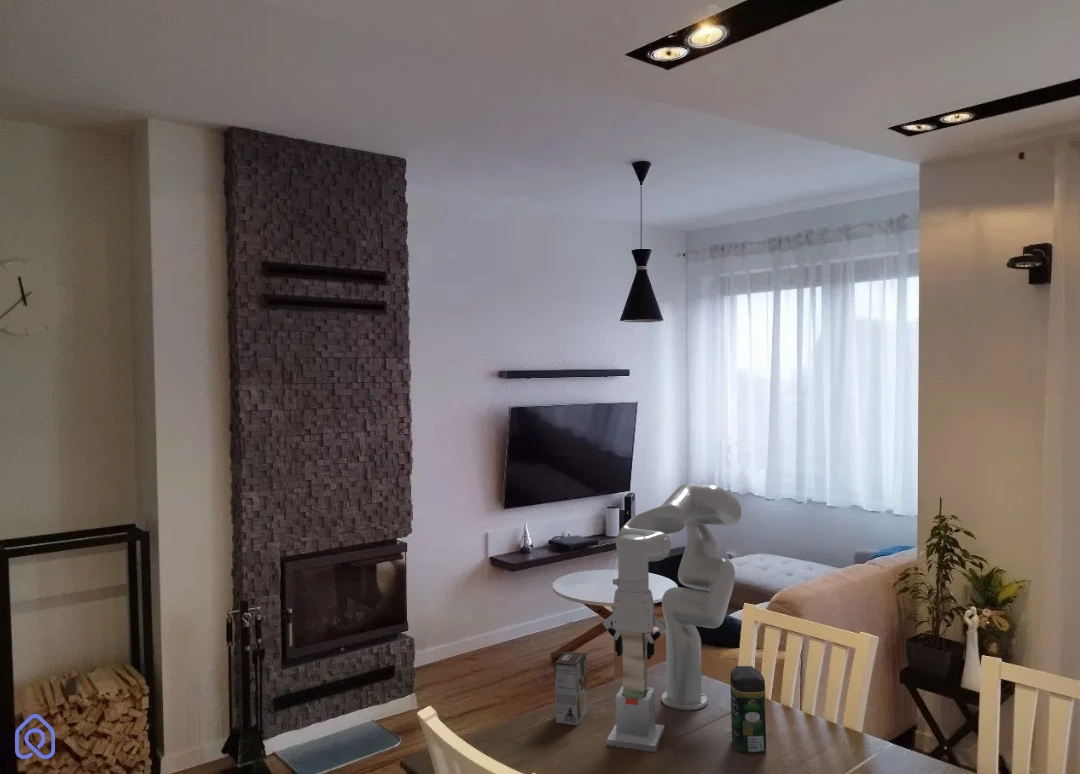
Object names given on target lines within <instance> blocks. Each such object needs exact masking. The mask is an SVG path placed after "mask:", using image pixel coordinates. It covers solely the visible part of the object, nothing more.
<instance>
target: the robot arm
mask: <svg viewBox="0 0 1080 774" xmlns="http://www.w3.org/2000/svg"><path fill="white" fill-rule="evenodd" d="M741 518H742V506H741V504H740V502H739V500H738V499H737V498H736V497H735V495H734V496H733V494H731V493H729V492H728V491H727V490H725V489H723V488H722V487H719V486H717V485H713V484H701V483H700V484H698V483H685V484H682V485H680V486H679V487H677V489H675V491H673V492H672V493H671V495H669V497H668V498H667V499H666V500H665V501H664V502H663V503H662V504H661V505H660V506H658V507H654V508H651V509H649V510H647V511H643V512H641V513H639V514H636V515H635V516H633V517H631V518H630V519H628V521H627V522H626V523H625V524H624V525H623V526H622V527H621V528H620V530H618V533H617V536H616V538H615V547H616V550H617V570H618V571H617V572H618V575H617V578H616V579H615V578H613V579H612V585H616V586H617V588H616V589H615V590H614V594H613V595H614V597H613V603H612V605H613V606H612V614H611V615H610V616H608V617H607V618H606V619H604V620H603V622H602V625H603V626H604V628H605V629H606V630H607V632H608V633H609V634H610V635H611V636H612V638H613V639H614V651H615V652H616V655H617V657H620V656H622V655H623V645H622V632H631V633H642V634H645V635H646V640H647V642H646V644H647V660H651V659H652V657H653V656H654V655H655V641H657V640H658V639H659V638H660V637H661V635H662V634H664V632H665V642H666V643H665V644H666V645H665V646H666V647H665V649H666V651H665V652H666V691H665V692H663V693H662V694H661V701H662V704H664V705H665V706H667V707H669V708H672V709H675V710H680V711H681V710H682V711H695V710H700V709H703V708H704V707H706V706H707V705H708V696H706V695H705V693H703V691H702V639H701V636H700V633H699V630H698V629H697V627H702V628H707V629H717V628H719V627H720V626H721V625H722V624H723V622H724V619H725V617H726V614H727V611H728V607H729V604H730V600H731V597H732V594H733V591H734V585H735V581H736V580H735V579H736V572H735V571H736V570H735V567H734V563H732V561H730V560H729V559H727V558H724V557H720V556H715V555H716V552H717V549H718V544H717V540H716V537H715V536H714V534H713V533H712V531H711V529H710V528H709V525H710V526H718V527H719V526H721V527H734V526H736V525H737V524H738V523H739V521H740V520H741ZM685 528H686V530H687V541H686V545H685V548H684V552H683V555H682V557H681V561H680V564H679V567H678V572H677V578H678V581H679V583H680V584H681V585H683V587H680V586H675V587H674V586H673V587H670V588H668V589H667V590H666V591H665V592H664V593H663V596H662V599H661V609H662V614H663V619H664V622H662V621H661V619H659V618H658V617H657V616H656V614H655V604H654V599H653V593H652V590H651V589H650V588H649V562H659V561H662V560H664V559H666V558H667V557H668V556H669V555H670V552H671V549H672V542H671V538H670V536H668V535H670V534H676V533H678V532H679V533H680V532H681V531H682V530H684V529H685ZM684 586H685V587H684ZM611 623H612V624H611ZM655 627H658V630H657V631H655V632H654V631H653V630H654V628H655Z"/></svg>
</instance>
